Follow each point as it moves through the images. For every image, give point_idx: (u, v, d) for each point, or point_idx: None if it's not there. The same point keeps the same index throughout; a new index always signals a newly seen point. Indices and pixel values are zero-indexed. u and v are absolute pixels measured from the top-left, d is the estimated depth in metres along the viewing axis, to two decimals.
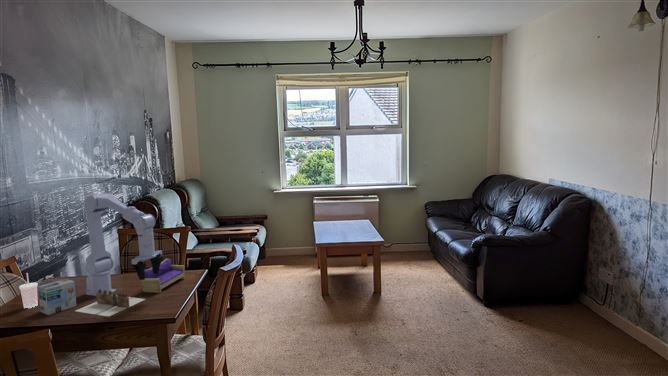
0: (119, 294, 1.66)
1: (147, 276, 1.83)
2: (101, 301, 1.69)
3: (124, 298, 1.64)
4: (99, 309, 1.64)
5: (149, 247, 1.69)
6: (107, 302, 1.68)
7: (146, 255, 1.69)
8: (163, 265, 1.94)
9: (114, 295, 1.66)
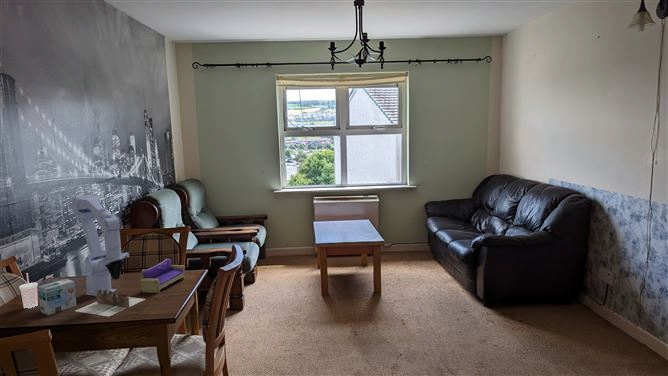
0: (119, 294, 1.66)
1: (146, 276, 1.82)
2: (101, 301, 1.69)
3: (124, 298, 1.64)
4: (99, 309, 1.64)
5: (116, 249, 1.69)
6: (107, 302, 1.68)
7: (113, 257, 1.69)
8: (163, 265, 1.93)
9: (114, 295, 1.66)
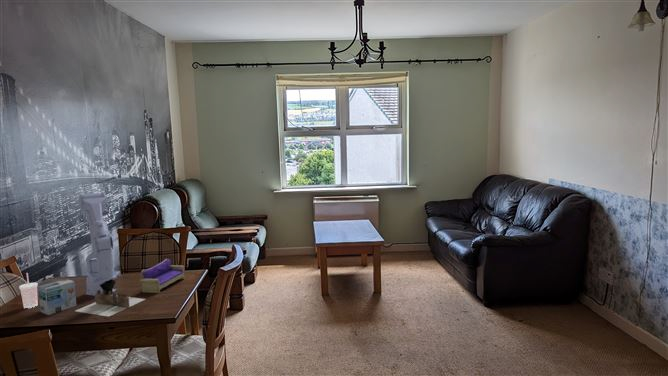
0: (119, 294, 1.66)
1: (146, 276, 1.82)
2: (100, 301, 1.69)
3: (124, 298, 1.64)
4: (99, 309, 1.64)
5: (109, 269, 1.67)
6: (107, 302, 1.68)
7: (106, 277, 1.66)
8: (163, 265, 1.93)
9: (114, 295, 1.66)
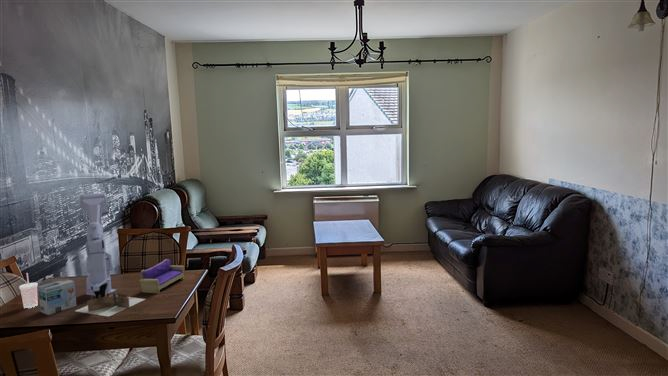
0: (119, 294, 1.66)
1: (146, 276, 1.82)
2: (95, 307, 1.63)
3: (124, 298, 1.64)
4: (99, 309, 1.64)
5: (105, 271, 1.64)
6: (105, 305, 1.65)
7: (102, 280, 1.63)
8: (162, 265, 1.93)
9: (115, 295, 1.67)
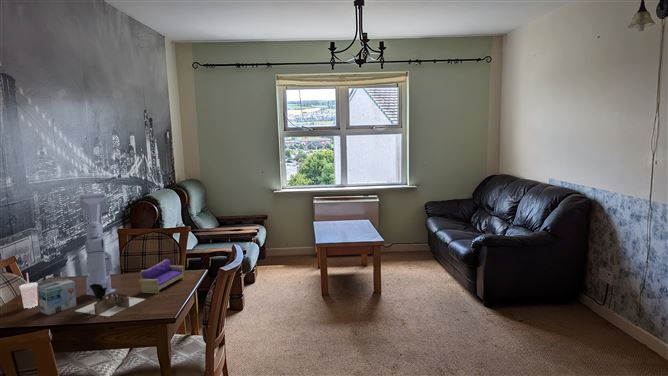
0: (119, 294, 1.66)
1: (145, 277, 1.82)
2: (102, 309, 1.60)
3: (124, 298, 1.64)
4: None
5: (105, 269, 1.66)
6: (110, 306, 1.64)
7: (105, 277, 1.65)
8: (162, 266, 1.93)
9: (116, 294, 1.67)
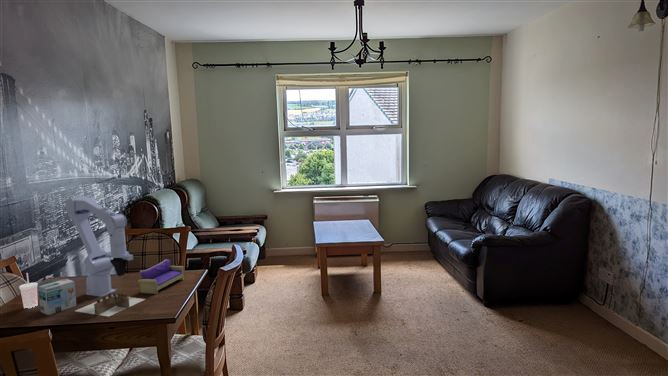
0: (119, 294, 1.66)
1: (144, 277, 1.82)
2: (102, 309, 1.60)
3: (124, 298, 1.64)
4: None
5: None
6: (110, 306, 1.64)
7: (126, 252, 1.75)
8: (162, 266, 1.93)
9: (116, 294, 1.67)
